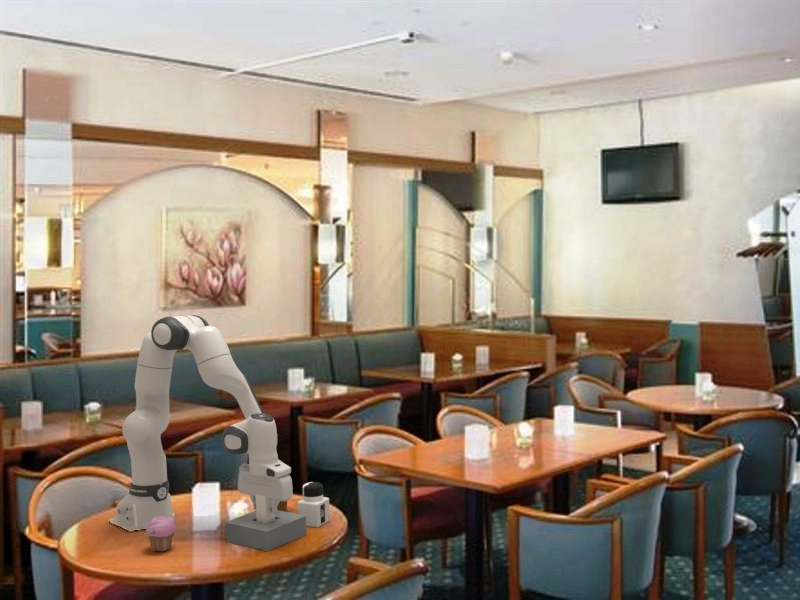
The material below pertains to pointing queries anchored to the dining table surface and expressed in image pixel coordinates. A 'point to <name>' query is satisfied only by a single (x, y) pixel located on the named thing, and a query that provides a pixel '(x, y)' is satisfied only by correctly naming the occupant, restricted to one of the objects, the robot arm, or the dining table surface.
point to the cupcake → (161, 533)
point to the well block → (265, 530)
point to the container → (314, 505)
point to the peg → (264, 509)
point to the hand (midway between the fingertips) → (265, 510)
